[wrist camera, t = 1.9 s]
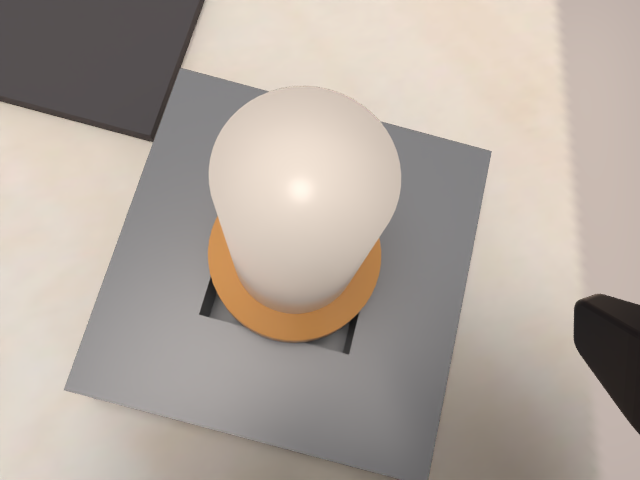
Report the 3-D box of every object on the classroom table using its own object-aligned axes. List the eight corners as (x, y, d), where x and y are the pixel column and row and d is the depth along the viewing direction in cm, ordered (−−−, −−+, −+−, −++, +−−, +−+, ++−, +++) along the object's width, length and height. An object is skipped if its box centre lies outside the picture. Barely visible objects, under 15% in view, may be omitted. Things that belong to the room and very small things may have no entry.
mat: (223, -54, 27) (222, -64, 26) (153, 141, 24) (149, 135, 24) (11, -111, 27) (5, -122, 26) (-82, 78, 24) (-91, 71, 24)
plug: (378, 226, 24) (461, 90, 13) (345, 365, 22) (408, 339, 12) (242, 190, 24) (215, 24, 13) (200, 327, 22) (130, 265, 12)
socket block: (466, 179, 25) (491, 151, 22) (406, 474, 22) (426, 486, 19) (191, 105, 25) (180, 67, 22) (92, 390, 22) (63, 390, 19)
